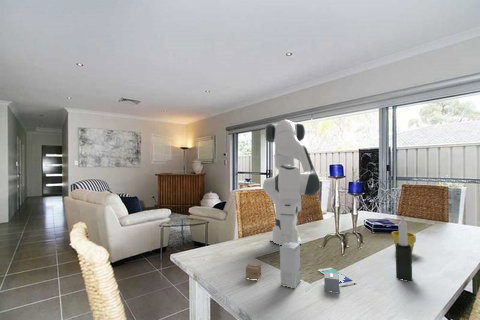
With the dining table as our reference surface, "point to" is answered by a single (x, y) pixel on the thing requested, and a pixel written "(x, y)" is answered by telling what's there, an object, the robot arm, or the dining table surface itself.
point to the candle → (403, 254)
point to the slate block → (331, 282)
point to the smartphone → (331, 270)
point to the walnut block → (253, 271)
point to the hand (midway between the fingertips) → (290, 240)
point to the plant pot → (410, 238)
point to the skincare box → (290, 264)
